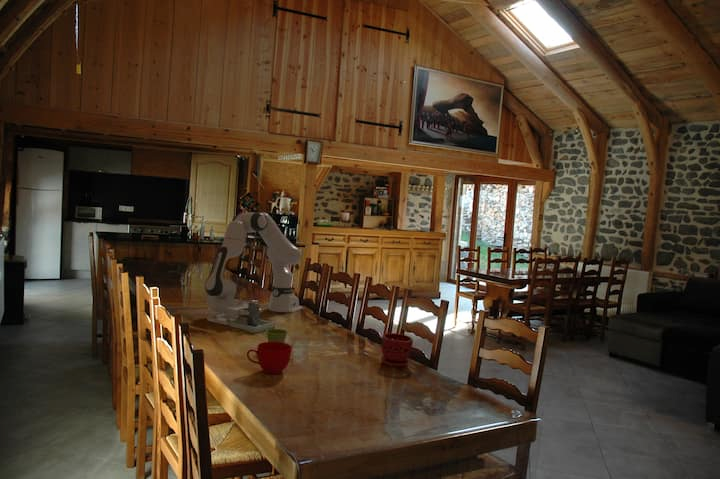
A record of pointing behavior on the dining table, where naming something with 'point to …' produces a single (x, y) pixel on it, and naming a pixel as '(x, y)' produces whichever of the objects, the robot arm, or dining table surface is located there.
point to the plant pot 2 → (396, 349)
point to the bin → (261, 327)
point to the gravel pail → (253, 313)
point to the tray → (224, 319)
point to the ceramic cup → (272, 356)
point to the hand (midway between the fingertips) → (254, 311)
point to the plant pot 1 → (276, 335)
